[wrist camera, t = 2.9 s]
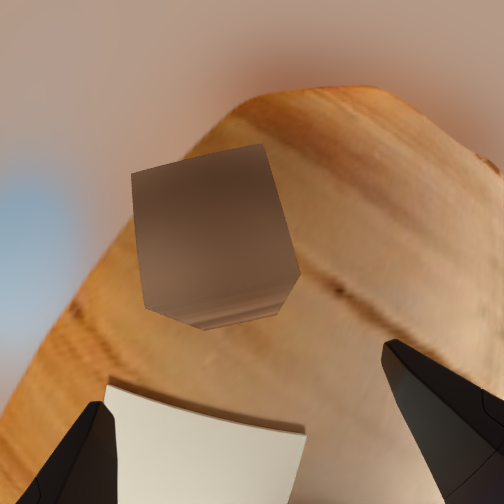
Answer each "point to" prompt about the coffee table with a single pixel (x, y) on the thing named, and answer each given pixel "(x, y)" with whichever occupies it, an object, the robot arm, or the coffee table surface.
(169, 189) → the walnut block
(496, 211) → the coffee table surface
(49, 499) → the robot arm
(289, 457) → the board
